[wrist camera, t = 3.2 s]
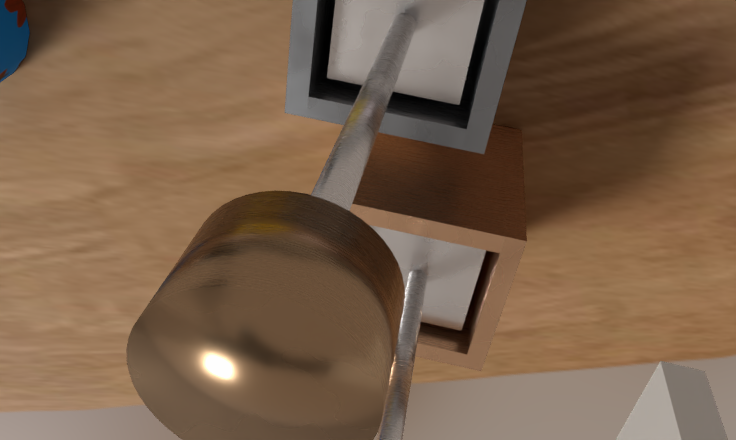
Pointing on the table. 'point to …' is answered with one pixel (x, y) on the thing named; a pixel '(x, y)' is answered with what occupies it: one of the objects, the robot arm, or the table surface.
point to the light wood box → (454, 222)
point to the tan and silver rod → (301, 264)
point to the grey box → (404, 112)
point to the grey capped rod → (424, 307)
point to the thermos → (12, 36)
